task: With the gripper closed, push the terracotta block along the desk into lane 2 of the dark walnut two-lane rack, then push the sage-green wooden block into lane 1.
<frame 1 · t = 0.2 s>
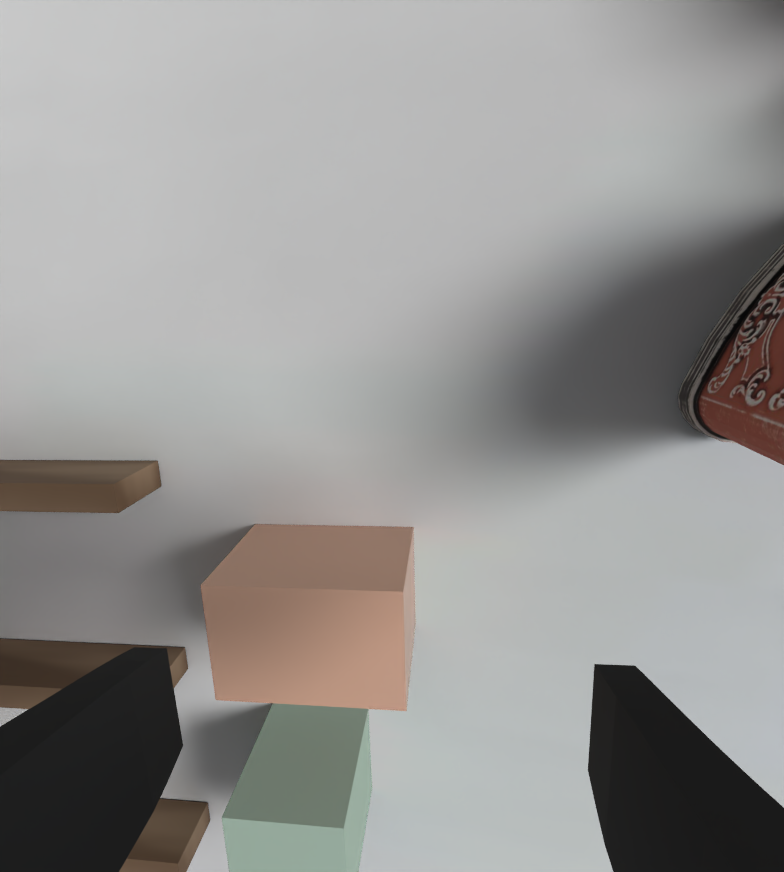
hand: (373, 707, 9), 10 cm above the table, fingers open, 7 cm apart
red printed tin: (780, 321, 16), on the table
sage block: (323, 744, 22), on the table
rack: (52, 651, 22), on the table
terracotta block: (336, 572, 20), on the table
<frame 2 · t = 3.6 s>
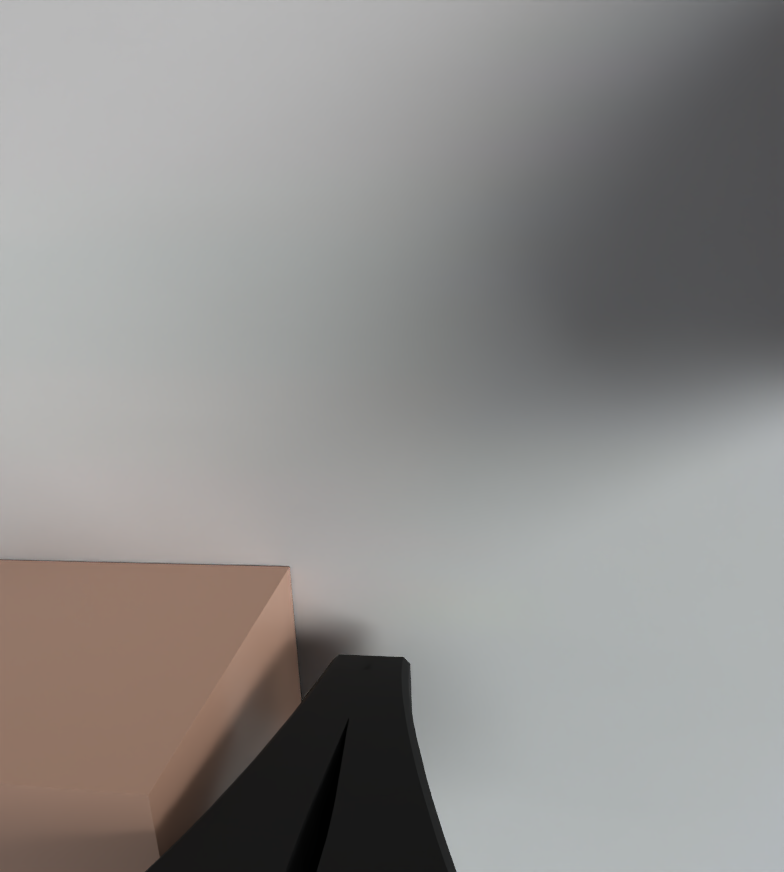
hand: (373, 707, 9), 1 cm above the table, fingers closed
terracotta block: (149, 655, 10), on the table, touching gripper
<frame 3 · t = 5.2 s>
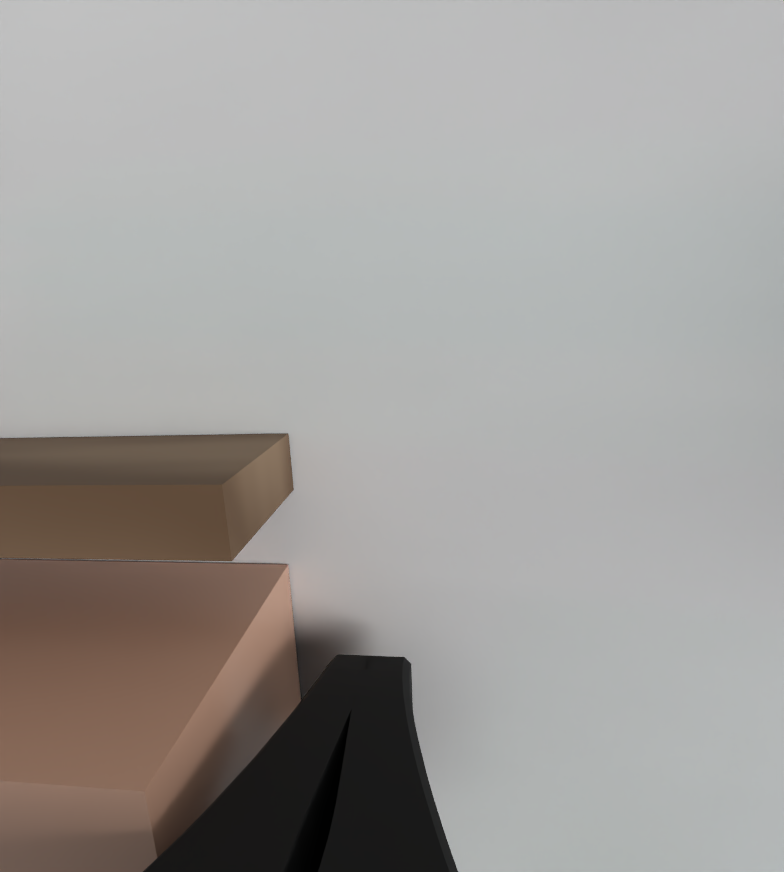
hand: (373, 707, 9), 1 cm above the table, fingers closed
rack: (60, 811, 11), on the table
terracotta block: (148, 654, 10), on the table, touching gripper
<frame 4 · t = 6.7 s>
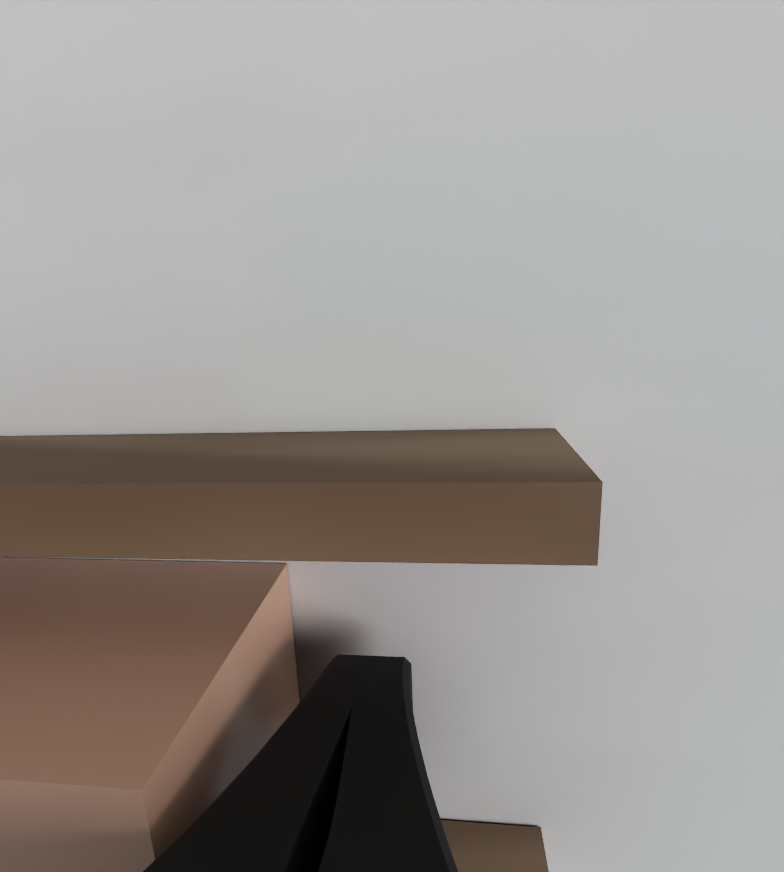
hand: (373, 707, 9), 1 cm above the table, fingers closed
rack: (248, 824, 11), on the table
terracotta block: (147, 653, 10), on the table, touching gripper
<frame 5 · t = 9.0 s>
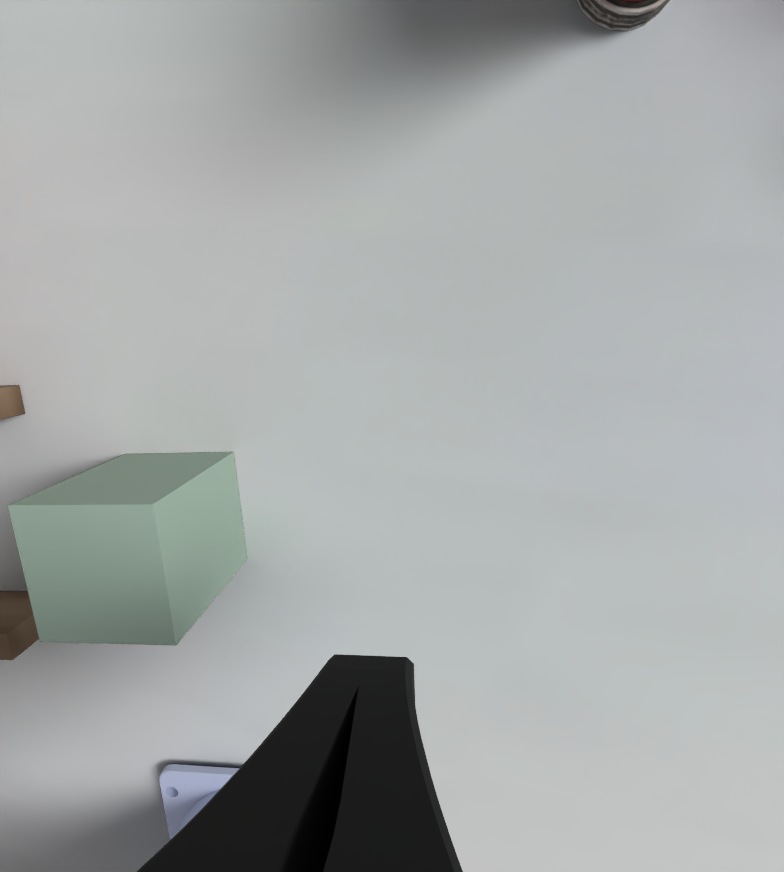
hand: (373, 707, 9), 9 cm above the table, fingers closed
sage block: (187, 506, 18), on the table
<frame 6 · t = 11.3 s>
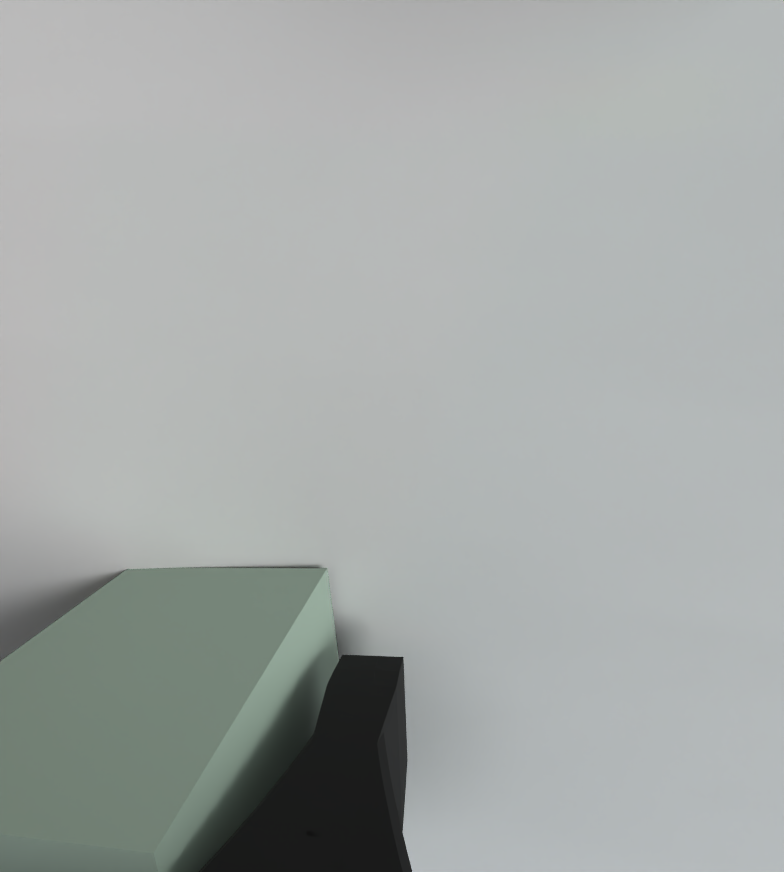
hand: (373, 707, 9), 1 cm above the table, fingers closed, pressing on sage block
sage block: (241, 661, 10), on the table, touching gripper
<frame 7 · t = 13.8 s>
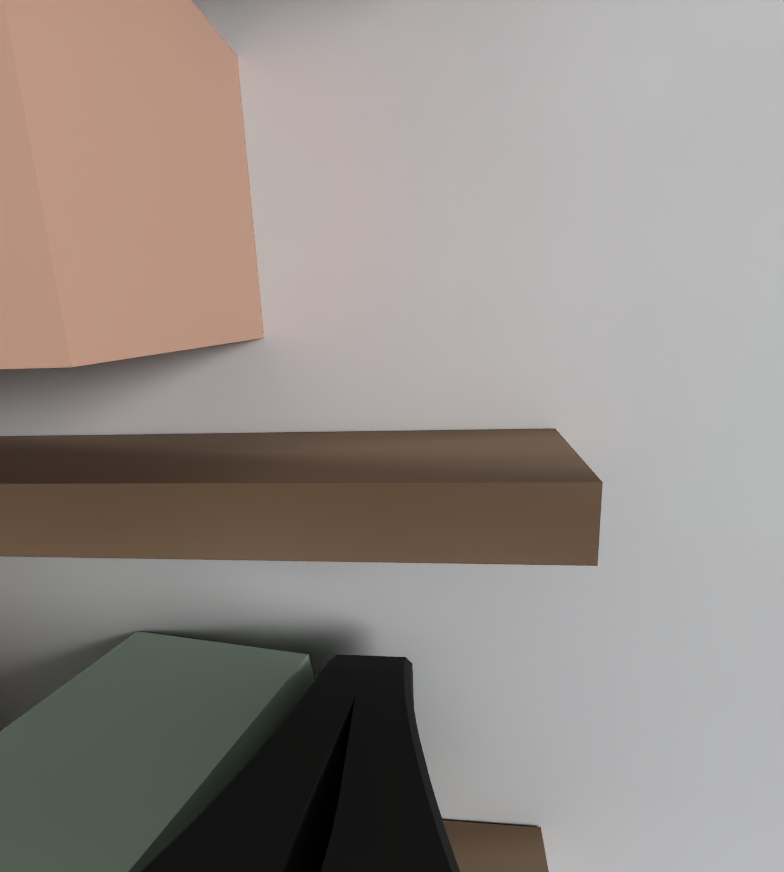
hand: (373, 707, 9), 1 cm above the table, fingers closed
sage block: (241, 735, 10), point 1 cm above the table, tilted 17°, touching gripper
rack: (199, 461, 9), on the table
terracotta block: (75, 217, 8), on the table
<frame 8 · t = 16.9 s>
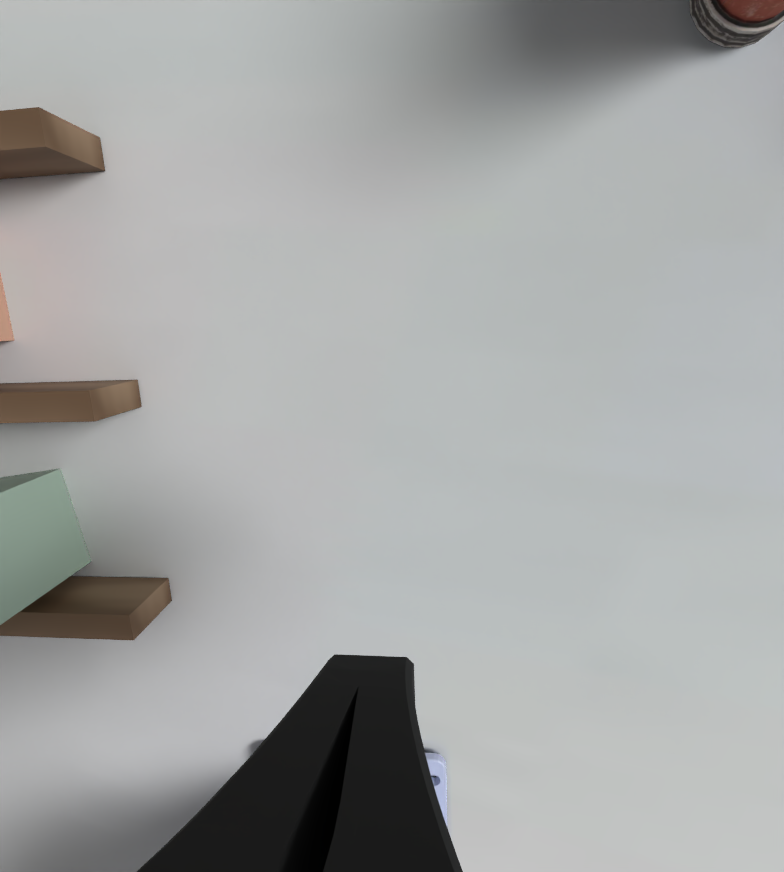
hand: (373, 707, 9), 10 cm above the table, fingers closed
sage block: (33, 521, 21), on the table
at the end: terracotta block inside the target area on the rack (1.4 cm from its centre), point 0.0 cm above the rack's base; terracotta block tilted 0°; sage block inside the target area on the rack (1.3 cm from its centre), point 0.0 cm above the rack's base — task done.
